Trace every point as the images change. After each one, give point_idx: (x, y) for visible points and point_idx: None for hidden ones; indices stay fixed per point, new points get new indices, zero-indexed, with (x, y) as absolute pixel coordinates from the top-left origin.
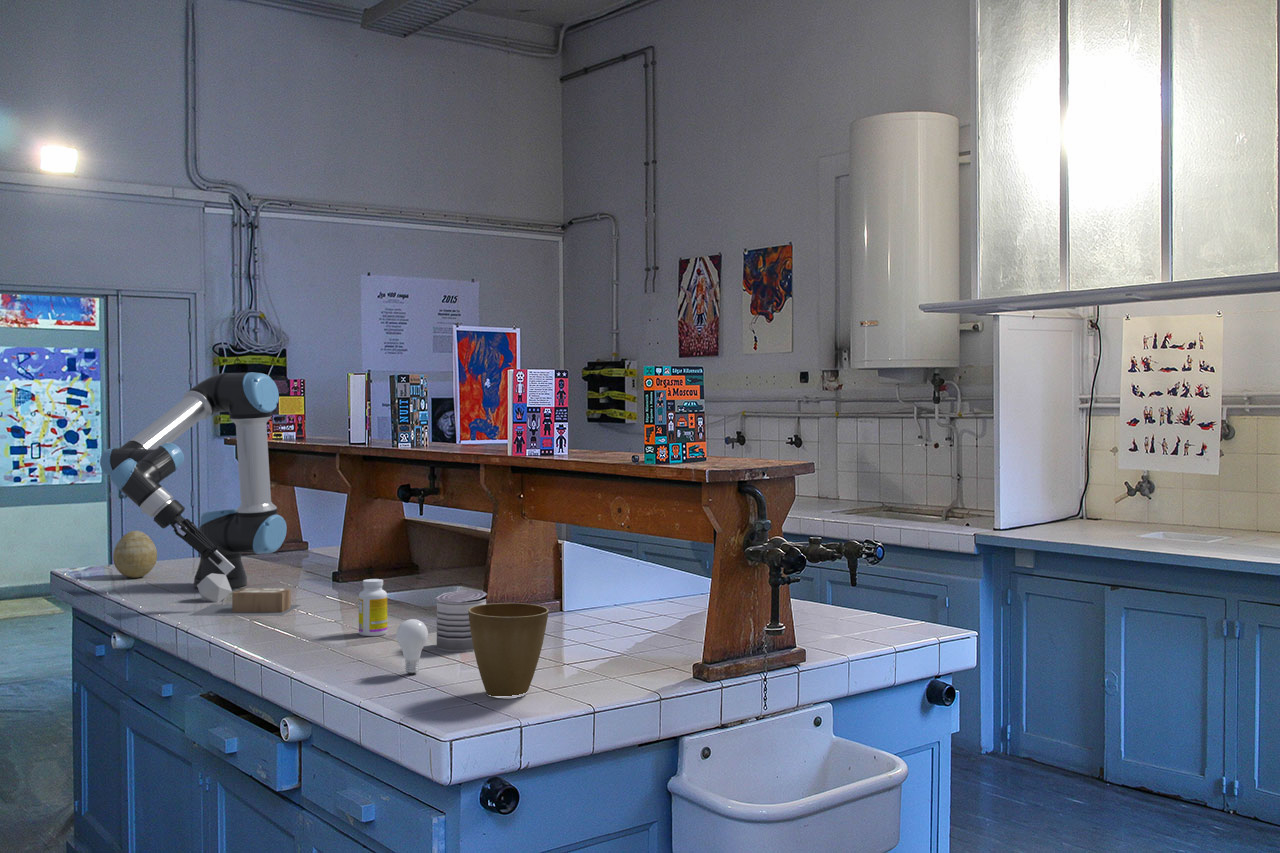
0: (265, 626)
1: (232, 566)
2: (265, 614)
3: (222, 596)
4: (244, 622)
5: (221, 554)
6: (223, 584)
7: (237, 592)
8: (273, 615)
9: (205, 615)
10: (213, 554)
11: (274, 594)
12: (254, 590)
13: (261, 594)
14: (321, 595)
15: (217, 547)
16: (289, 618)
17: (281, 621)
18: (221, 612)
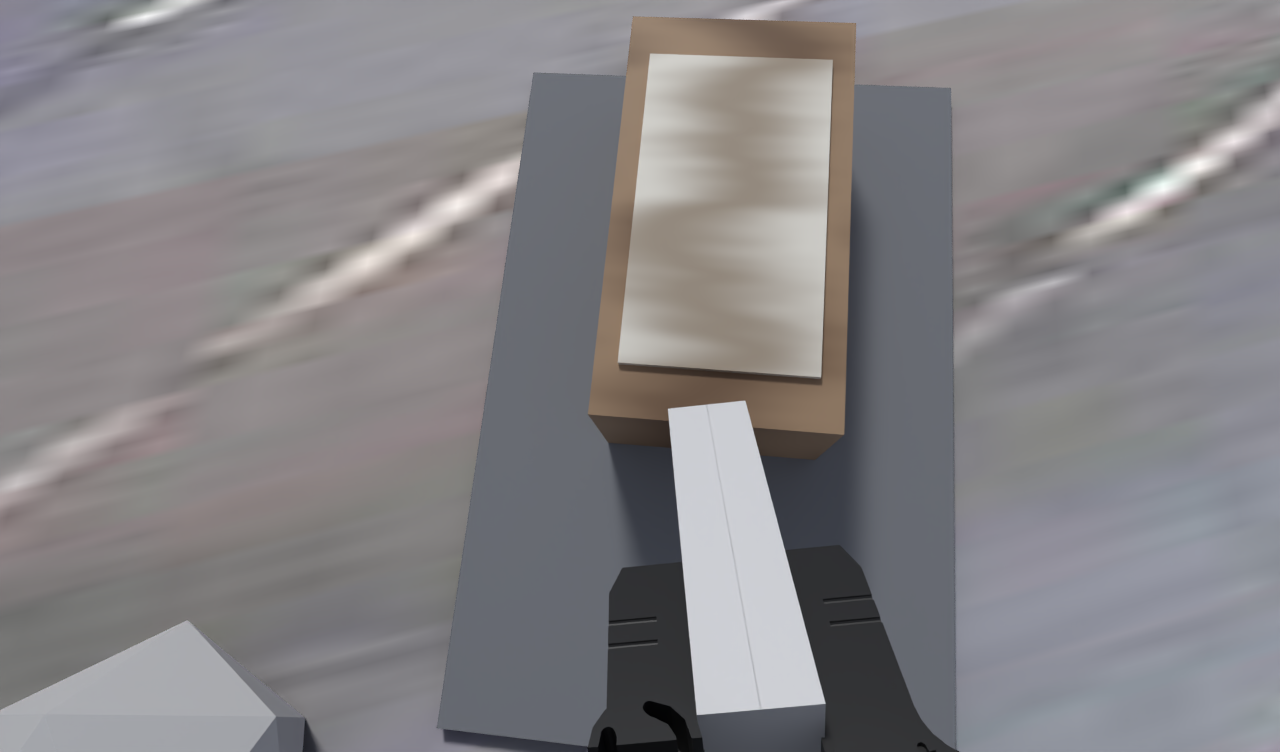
0: (1277, 120)
1: (749, 417)
2: (912, 202)
3: (264, 687)
4: (1142, 289)
5: (687, 602)
6: (199, 696)
7: (809, 396)
8: (950, 143)
9: (953, 638)
10: (912, 712)
11: (852, 87)
12: (739, 263)
13: (850, 186)
14: (102, 58)
15: (684, 711)
16: (974, 50)
17: (1086, 70)
18: (824, 541)
